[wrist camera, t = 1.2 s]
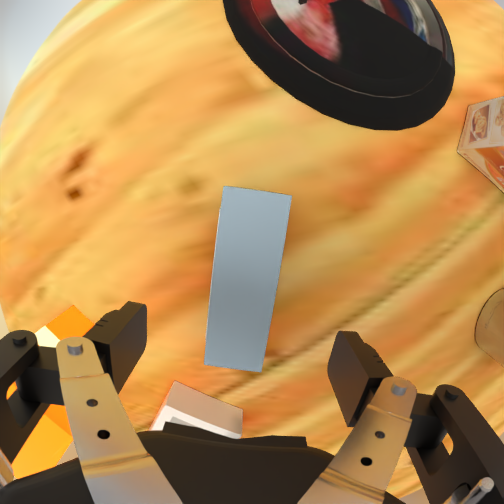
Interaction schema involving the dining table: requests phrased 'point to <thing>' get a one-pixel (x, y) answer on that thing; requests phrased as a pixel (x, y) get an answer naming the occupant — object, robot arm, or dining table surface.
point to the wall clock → (352, 56)
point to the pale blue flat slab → (245, 276)
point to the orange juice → (55, 418)
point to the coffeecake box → (485, 139)
